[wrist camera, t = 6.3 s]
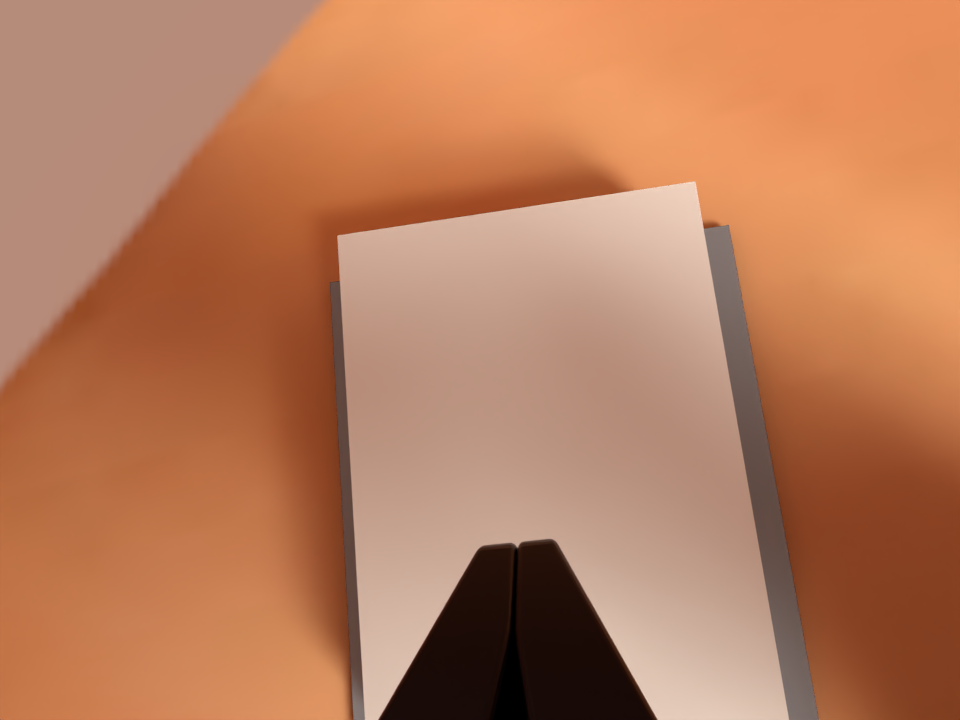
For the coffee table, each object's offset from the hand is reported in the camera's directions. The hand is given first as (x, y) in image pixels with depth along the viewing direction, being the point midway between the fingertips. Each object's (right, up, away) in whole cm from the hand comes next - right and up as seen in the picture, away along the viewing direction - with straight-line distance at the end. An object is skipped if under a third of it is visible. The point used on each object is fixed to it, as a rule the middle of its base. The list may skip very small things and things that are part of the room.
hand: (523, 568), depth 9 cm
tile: (+1, -5, +5) cm, 7 cm away
